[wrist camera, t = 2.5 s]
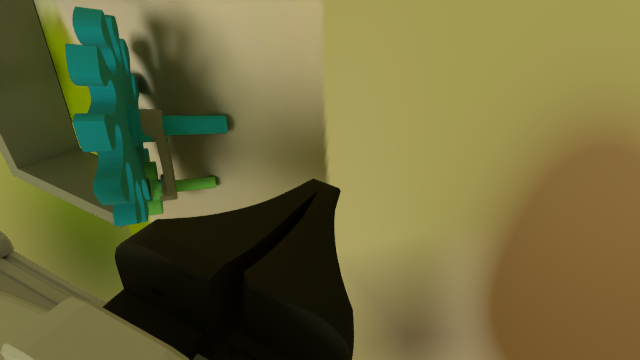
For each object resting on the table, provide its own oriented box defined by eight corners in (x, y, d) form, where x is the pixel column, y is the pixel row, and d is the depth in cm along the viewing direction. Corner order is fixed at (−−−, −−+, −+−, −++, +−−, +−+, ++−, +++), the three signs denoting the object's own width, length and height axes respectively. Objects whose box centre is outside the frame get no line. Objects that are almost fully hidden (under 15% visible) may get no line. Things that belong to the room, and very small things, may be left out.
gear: (77, -22, 13) (-5, 63, 6) (211, 0, 15) (247, 77, 9) (133, 159, 20) (120, 282, 14) (217, 153, 22) (239, 256, 16)
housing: (170, 196, 20) (101, 239, 16) (68, 152, 23) (-17, 179, 18) (141, -29, 13) (0, -60, 9) (-8, -65, 15) (-181, -104, 11)
